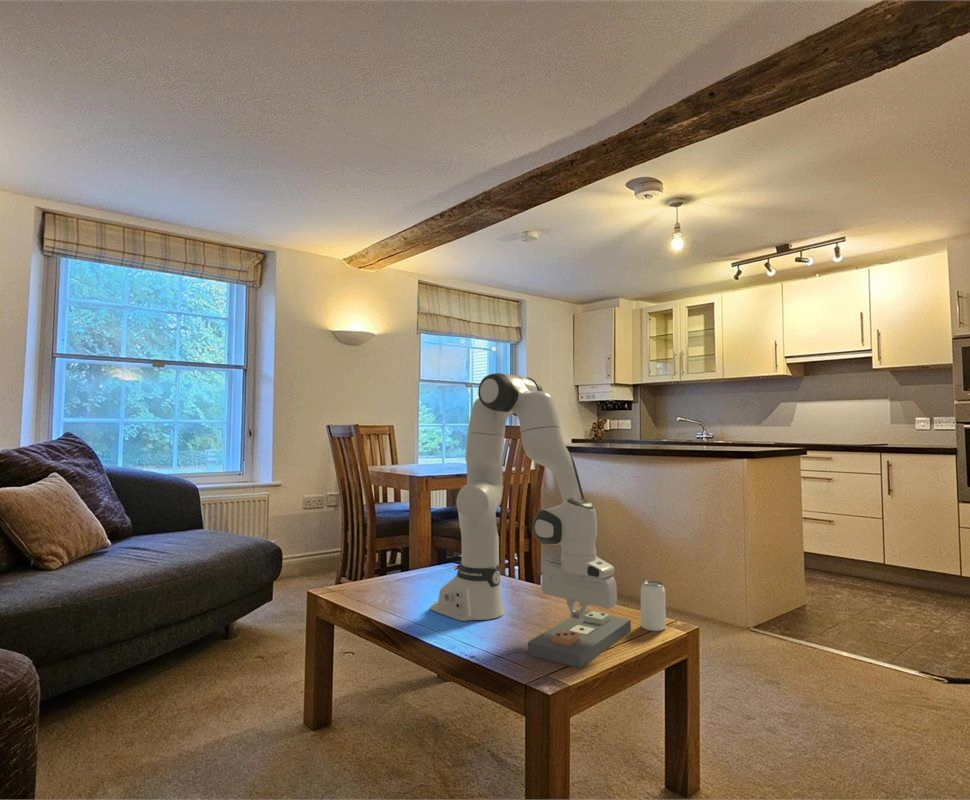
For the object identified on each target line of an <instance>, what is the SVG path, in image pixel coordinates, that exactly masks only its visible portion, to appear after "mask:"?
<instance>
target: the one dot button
mask: <svg viewBox="0 0 970 800" xmlns="http://www.w3.org/2000/svg"><path fill="white" fill-rule="evenodd" d="M569 631H570V632H575V633H579V634H582V635H586V636H588V635H589V634H591V633H592V632H594V631H595V628H590V627H585V626H581V625H577V626H575V627H573V628H572V629H570V630H569Z"/></svg>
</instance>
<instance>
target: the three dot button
mask: <svg viewBox="0 0 970 800" xmlns="http://www.w3.org/2000/svg"><path fill="white" fill-rule="evenodd" d="M578 641H579V633H575V632H570V631H566V630H559V631H558V632H556V633H554V634H553V635H551V642H553V643H557V644H561V645H565V646H569V647H571V646H572V645H574V644H575V643H577V642H578Z"/></svg>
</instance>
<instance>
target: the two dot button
mask: <svg viewBox="0 0 970 800" xmlns="http://www.w3.org/2000/svg"><path fill="white" fill-rule="evenodd" d="M610 616H611V614H608V613H604V612H601V611H596V610H592V611H590V613H588V614H586V615H585V616H584V622H588V623H592V624H597V625H602V626H603V625H604V624H606V623H607V622H609V621H610Z"/></svg>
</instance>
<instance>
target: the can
mask: <svg viewBox="0 0 970 800" xmlns="http://www.w3.org/2000/svg"><path fill="white" fill-rule="evenodd" d="M666 623H667V621H666V589H665V587H664V583H663V582H660V581H657V580H644V581H642V582H641V587H640V626H641V628H642V629H644V630H645V631H648V630H649V632H662V631H665V629H666Z"/></svg>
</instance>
